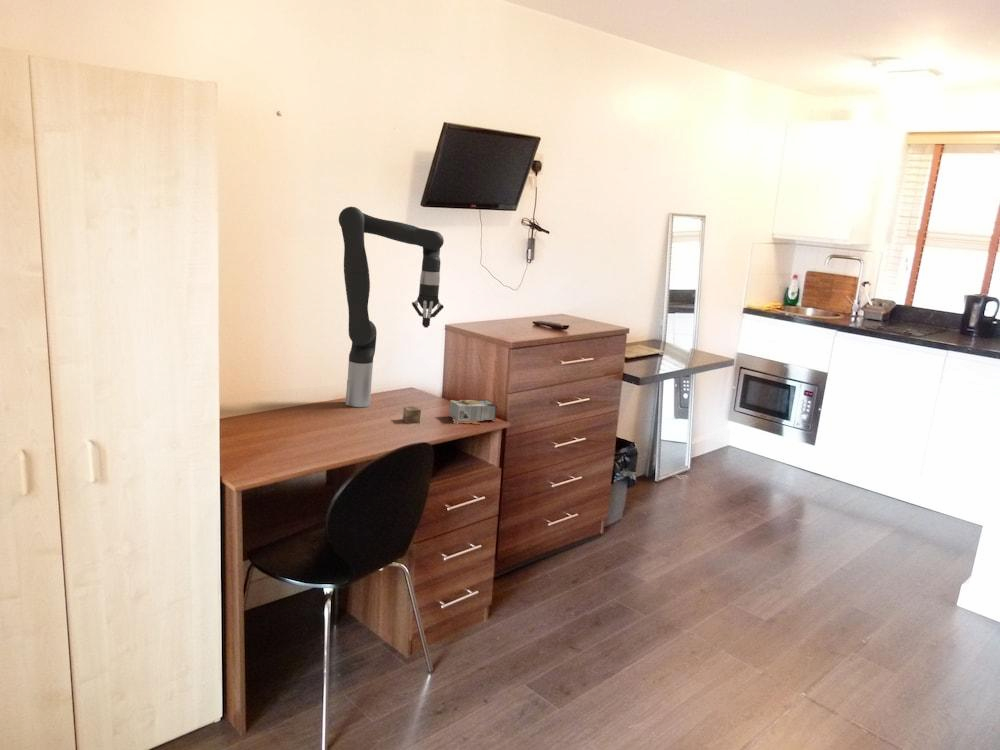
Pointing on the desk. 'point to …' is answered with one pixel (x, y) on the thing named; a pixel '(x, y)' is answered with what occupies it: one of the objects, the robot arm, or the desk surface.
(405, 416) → the walnut block
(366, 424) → the desk surface
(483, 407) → the coffee box
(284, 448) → the desk surface
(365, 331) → the robot arm
